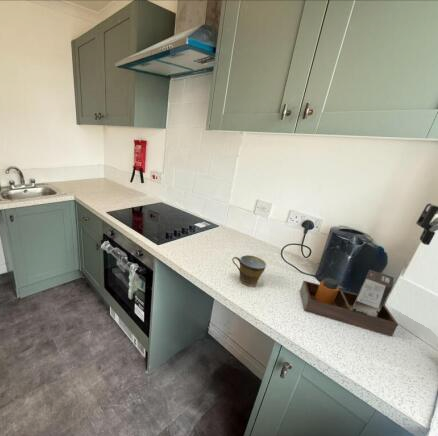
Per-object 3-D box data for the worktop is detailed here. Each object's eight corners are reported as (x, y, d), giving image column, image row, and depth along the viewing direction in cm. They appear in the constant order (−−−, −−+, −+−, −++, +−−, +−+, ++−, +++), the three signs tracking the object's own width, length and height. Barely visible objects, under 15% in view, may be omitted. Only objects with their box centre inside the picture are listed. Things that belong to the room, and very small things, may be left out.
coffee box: (371, 328, 81) (392, 288, 75) (347, 317, 85) (365, 278, 79) (375, 315, 86) (395, 277, 80) (352, 305, 91) (369, 268, 85)
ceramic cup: (262, 280, 104) (268, 260, 100) (258, 292, 96) (263, 271, 93) (232, 269, 111) (236, 250, 107) (225, 280, 103) (229, 259, 99)
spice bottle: (328, 303, 91) (338, 279, 87) (332, 313, 87) (343, 287, 82) (311, 298, 93) (320, 274, 89) (314, 308, 89) (323, 282, 84)
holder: (299, 292, 98) (303, 280, 96) (375, 313, 89) (381, 300, 87) (303, 312, 87) (308, 299, 85) (390, 338, 78) (398, 324, 76)
